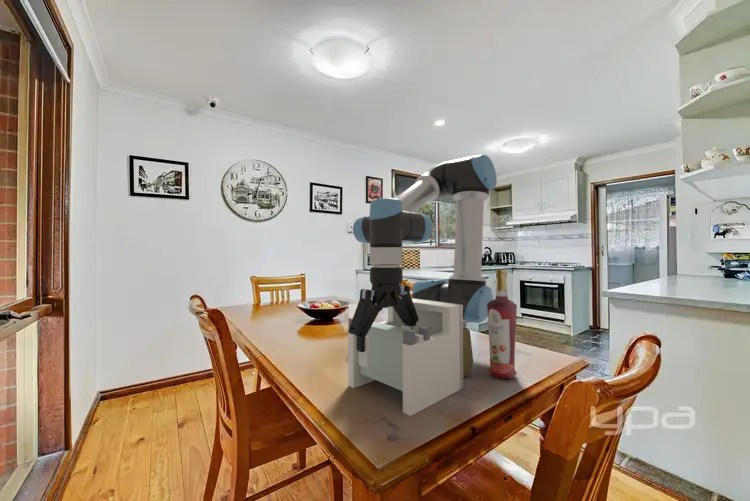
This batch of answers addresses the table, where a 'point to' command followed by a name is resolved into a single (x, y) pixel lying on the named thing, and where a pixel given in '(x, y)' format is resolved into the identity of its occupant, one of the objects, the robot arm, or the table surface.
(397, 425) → the table surface
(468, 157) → the robot arm
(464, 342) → the squeeze bottle
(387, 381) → the door
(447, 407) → the table surface
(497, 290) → the liquor
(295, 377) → the table surface
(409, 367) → the cabinet
